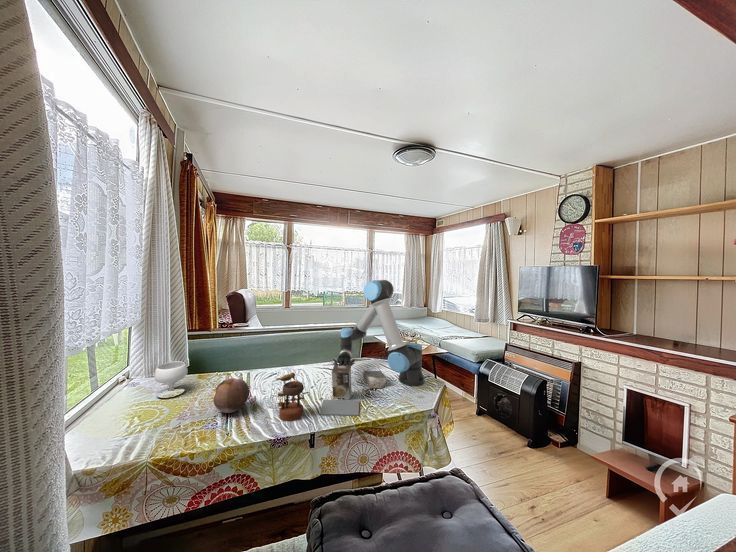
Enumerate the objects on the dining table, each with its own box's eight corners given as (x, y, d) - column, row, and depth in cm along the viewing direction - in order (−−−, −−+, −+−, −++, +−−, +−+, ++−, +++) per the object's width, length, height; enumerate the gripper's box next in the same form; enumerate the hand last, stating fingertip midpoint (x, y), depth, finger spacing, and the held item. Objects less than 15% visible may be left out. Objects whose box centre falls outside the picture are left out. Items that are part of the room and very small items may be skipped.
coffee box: (351, 391, 148) (351, 365, 143) (349, 399, 142) (349, 373, 137) (335, 389, 149) (334, 364, 144) (332, 398, 143) (331, 372, 138)
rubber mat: (359, 401, 140) (359, 400, 140) (358, 416, 126) (358, 414, 126) (323, 400, 140) (323, 399, 140) (319, 415, 126) (319, 413, 126)
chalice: (155, 403, 132) (155, 372, 132) (153, 392, 143) (153, 364, 142) (189, 395, 142) (189, 366, 141) (185, 385, 152) (185, 358, 152)
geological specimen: (379, 369, 172) (388, 377, 158) (379, 379, 172) (387, 388, 157) (363, 370, 169) (370, 378, 155) (362, 380, 169) (369, 389, 154)
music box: (278, 425, 117) (278, 377, 118) (273, 415, 127) (273, 371, 128) (313, 416, 125) (312, 371, 126) (305, 407, 134) (305, 365, 135)
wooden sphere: (252, 402, 137) (252, 372, 136) (244, 418, 122) (244, 384, 121) (219, 403, 134) (220, 373, 134) (207, 420, 119) (207, 386, 119)
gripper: (355, 363, 169) (353, 379, 146) (334, 363, 169) (328, 378, 146) (355, 351, 169) (353, 365, 145) (334, 351, 169) (328, 364, 145)
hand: (340, 372), depth 146 cm, fingers closed
